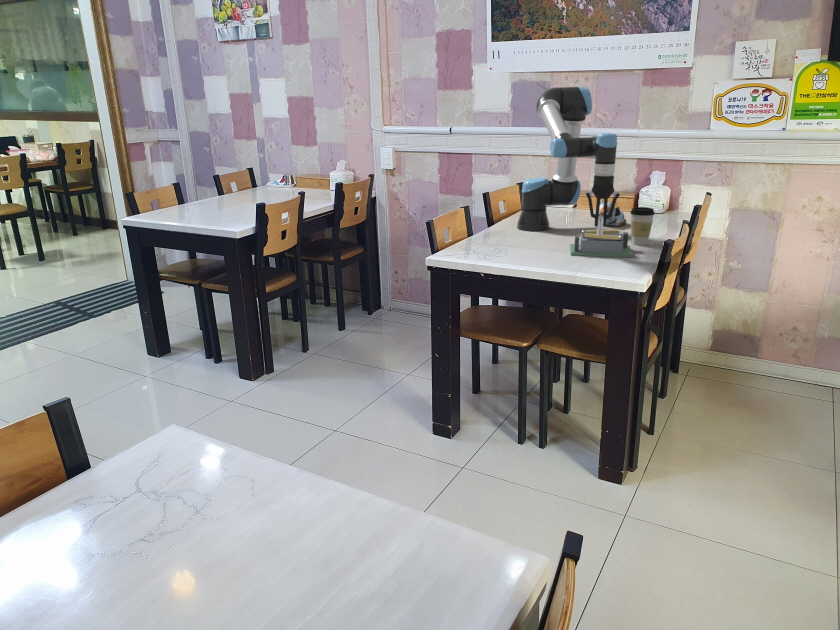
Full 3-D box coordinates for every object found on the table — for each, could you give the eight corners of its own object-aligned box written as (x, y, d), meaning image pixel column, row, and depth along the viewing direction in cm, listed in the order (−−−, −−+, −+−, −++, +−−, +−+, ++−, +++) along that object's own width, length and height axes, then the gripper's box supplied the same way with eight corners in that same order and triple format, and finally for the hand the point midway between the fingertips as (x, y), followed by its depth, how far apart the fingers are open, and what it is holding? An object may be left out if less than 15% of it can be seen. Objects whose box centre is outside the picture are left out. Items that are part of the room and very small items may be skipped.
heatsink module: (570, 255, 263) (571, 238, 261) (570, 246, 277) (571, 230, 274) (632, 257, 258) (634, 239, 256) (629, 248, 272) (630, 231, 270)
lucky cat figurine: (630, 226, 312) (623, 202, 305) (605, 236, 315) (598, 213, 307) (620, 212, 325) (613, 189, 317) (597, 221, 327) (589, 199, 319)
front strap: (622, 238, 262) (622, 234, 261) (622, 240, 258) (623, 237, 257) (584, 235, 264) (584, 231, 264) (584, 237, 261) (584, 233, 260)
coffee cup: (653, 246, 274) (656, 211, 269) (628, 246, 276) (631, 210, 271) (650, 241, 283) (653, 207, 278) (626, 241, 285) (629, 206, 280)
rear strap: (581, 235, 269) (581, 231, 269) (581, 233, 273) (581, 229, 272) (619, 233, 266) (619, 230, 266) (618, 231, 270) (618, 228, 269)
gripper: (586, 175, 251) (582, 236, 259) (623, 176, 248) (617, 237, 256) (585, 173, 258) (581, 232, 266) (621, 173, 255) (616, 233, 263)
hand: (599, 234), depth 261 cm, fingers closed, pressing on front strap
